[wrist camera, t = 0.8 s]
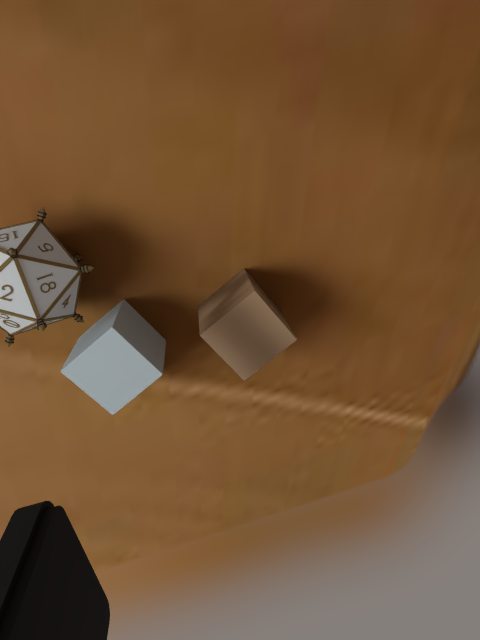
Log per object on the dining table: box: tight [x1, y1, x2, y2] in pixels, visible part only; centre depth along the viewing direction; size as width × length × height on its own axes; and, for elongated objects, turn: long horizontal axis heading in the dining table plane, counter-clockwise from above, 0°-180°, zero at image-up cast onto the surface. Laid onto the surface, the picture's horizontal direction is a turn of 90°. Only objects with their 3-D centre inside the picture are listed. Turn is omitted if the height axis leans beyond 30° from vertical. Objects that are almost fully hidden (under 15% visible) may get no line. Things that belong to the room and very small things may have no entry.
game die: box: [0, 207, 94, 347], centre depth 29 cm, size 9×8×10 cm
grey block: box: [60, 299, 166, 415], centre depth 33 cm, size 5×5×6 cm
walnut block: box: [198, 269, 297, 381], centre depth 34 cm, size 5×5×6 cm
